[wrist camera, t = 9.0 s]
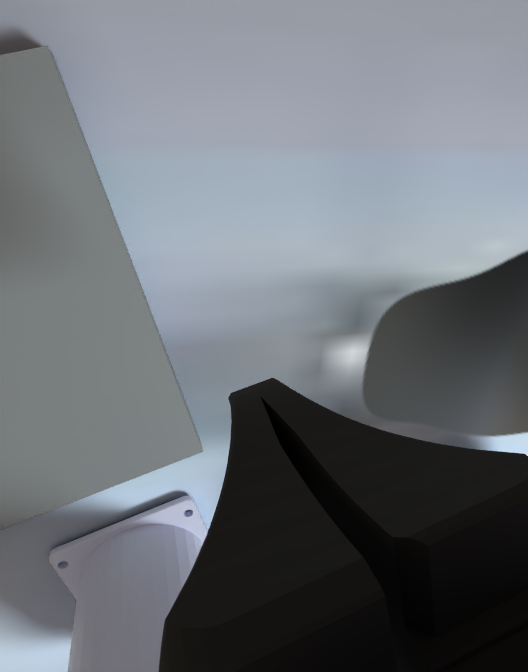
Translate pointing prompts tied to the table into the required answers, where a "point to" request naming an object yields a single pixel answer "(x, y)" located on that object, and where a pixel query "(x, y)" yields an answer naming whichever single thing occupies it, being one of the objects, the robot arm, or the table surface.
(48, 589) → the table surface
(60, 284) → the slate board
